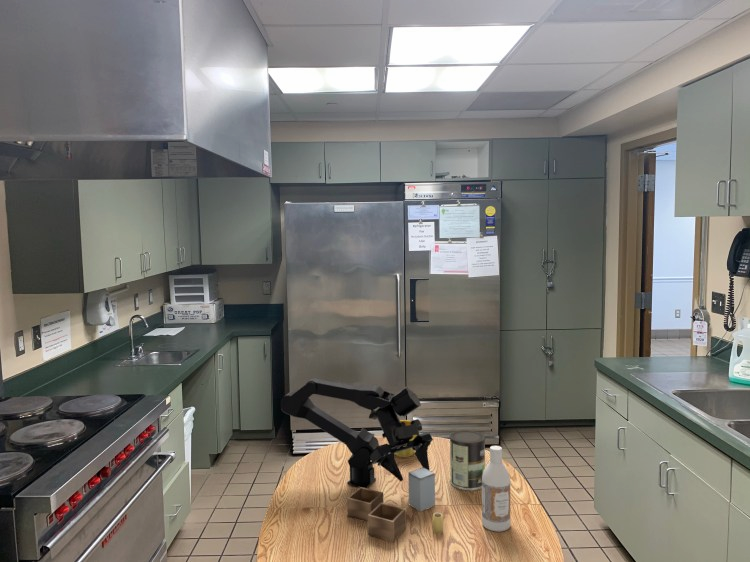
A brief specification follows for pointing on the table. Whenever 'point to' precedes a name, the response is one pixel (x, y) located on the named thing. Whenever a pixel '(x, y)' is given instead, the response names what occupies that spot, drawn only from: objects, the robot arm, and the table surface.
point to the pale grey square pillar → (421, 489)
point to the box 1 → (363, 503)
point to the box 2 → (387, 522)
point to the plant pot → (405, 452)
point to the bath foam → (496, 493)
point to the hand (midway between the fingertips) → (415, 476)
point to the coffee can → (467, 459)
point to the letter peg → (437, 523)
